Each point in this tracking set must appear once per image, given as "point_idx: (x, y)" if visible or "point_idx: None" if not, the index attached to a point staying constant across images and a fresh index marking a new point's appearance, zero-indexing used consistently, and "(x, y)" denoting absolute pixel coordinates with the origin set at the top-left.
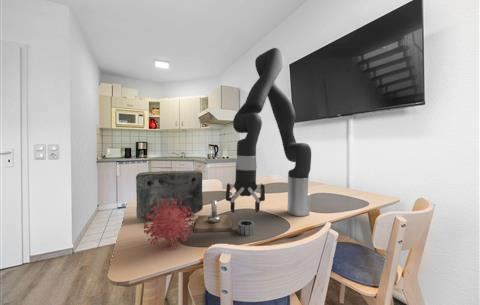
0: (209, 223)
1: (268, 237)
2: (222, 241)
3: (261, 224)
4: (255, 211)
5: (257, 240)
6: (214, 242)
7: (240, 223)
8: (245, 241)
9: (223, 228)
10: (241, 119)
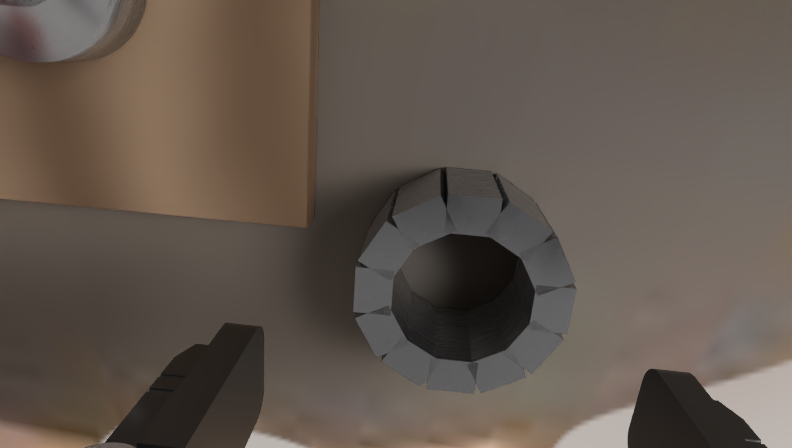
0: None
1: None
2: None
3: (723, 77)
4: (638, 419)
5: (516, 430)
6: None
7: (389, 296)
8: (409, 427)
9: (208, 217)
10: None
